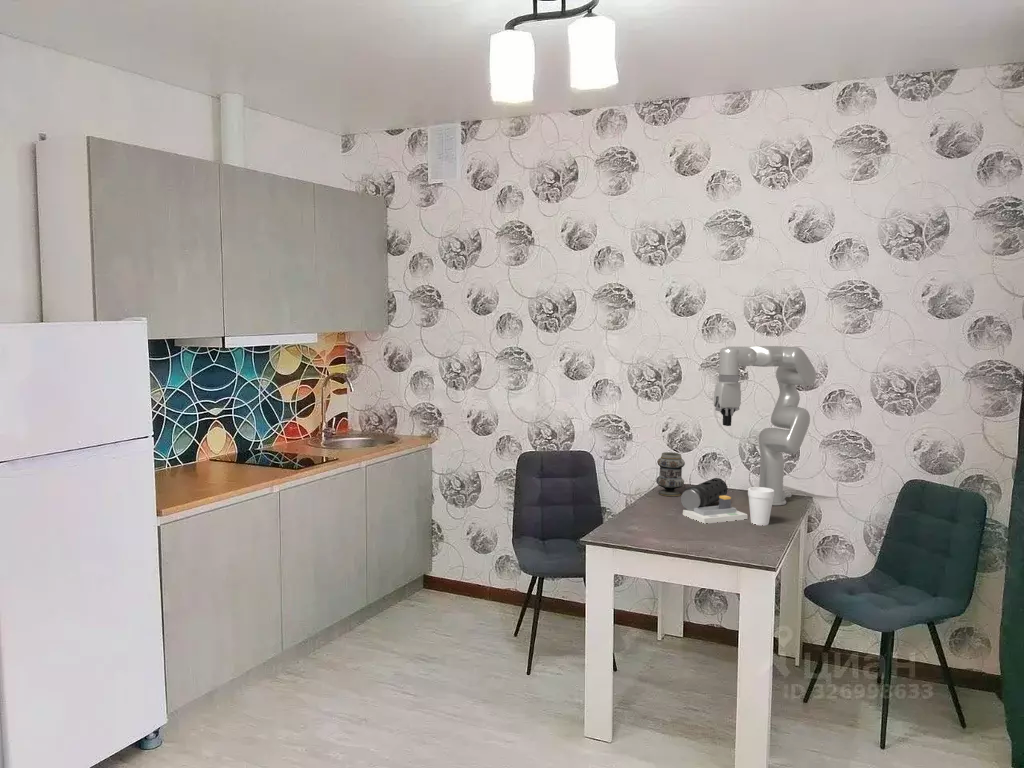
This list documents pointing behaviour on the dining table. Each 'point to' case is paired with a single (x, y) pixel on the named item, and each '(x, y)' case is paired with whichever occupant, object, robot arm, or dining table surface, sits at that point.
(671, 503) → the dining table surface
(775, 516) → the dining table surface
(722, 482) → the muzzle brake
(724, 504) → the breaker lever
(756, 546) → the dining table surface
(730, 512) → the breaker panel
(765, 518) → the foam cup
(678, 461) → the apothecary jar
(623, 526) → the dining table surface
